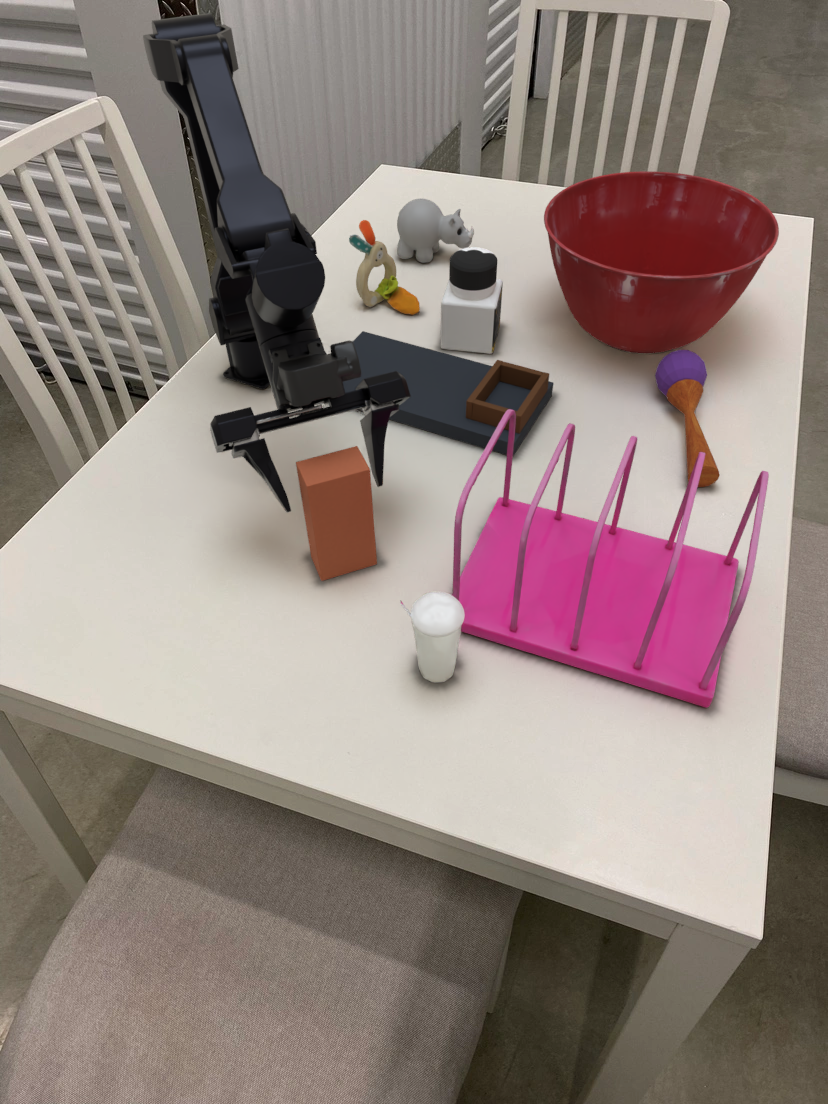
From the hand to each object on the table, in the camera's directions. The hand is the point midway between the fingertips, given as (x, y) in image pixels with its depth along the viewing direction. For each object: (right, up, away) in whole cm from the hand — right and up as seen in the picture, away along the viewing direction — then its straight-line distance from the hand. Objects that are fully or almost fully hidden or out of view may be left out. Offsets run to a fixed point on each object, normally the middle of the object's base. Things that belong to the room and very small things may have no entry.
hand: (335, 499), depth 78 cm
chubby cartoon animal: (+11, +40, +48) cm, 64 cm away
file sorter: (+25, -10, +2) cm, 27 cm away
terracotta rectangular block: (0, -6, +5) cm, 8 cm away
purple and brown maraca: (+40, +9, +19) cm, 45 cm away
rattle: (+4, +30, +39) cm, 49 cm away
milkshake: (+9, -16, -4) cm, 19 cm away
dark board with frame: (+10, +15, +24) cm, 30 cm away
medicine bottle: (+15, +24, +33) cm, 44 cm away
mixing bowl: (+38, +26, +34) cm, 57 cm away
